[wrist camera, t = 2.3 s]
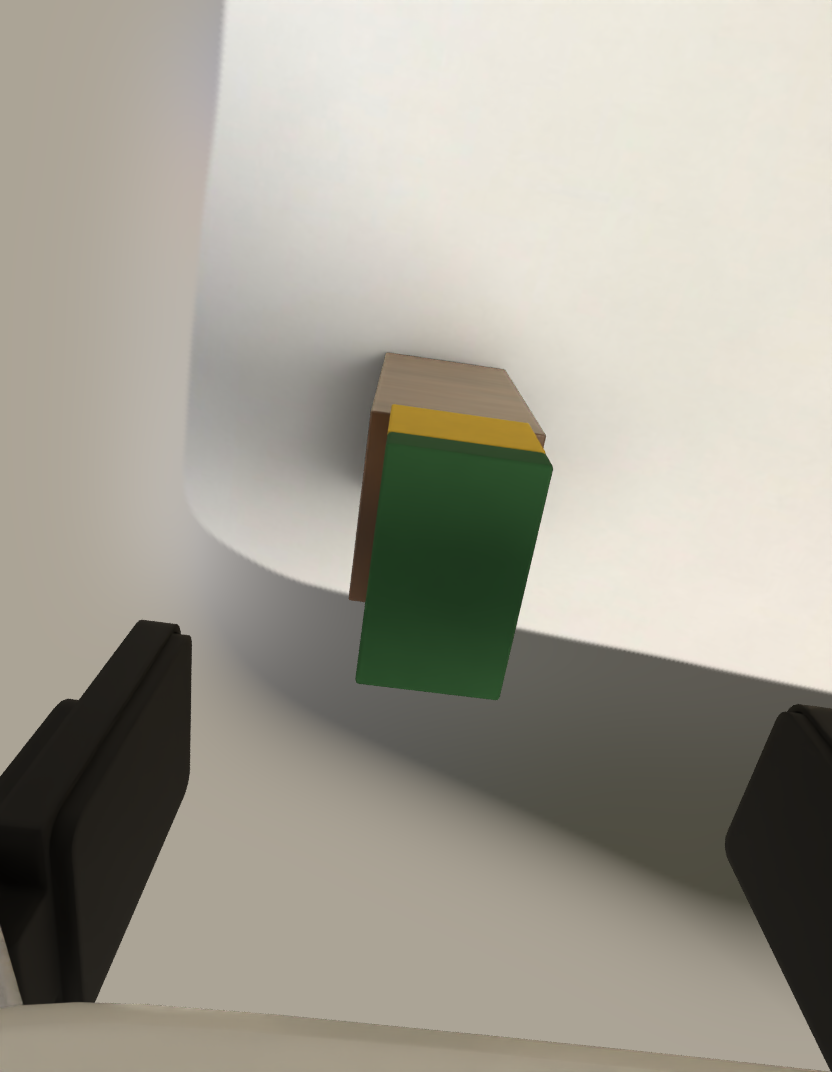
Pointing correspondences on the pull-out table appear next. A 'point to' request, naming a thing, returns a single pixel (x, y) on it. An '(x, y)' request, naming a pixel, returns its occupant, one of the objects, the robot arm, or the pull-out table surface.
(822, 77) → the pull-out table surface
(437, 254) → the pull-out table surface
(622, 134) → the pull-out table surface
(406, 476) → the sponge
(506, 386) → the wooden block
